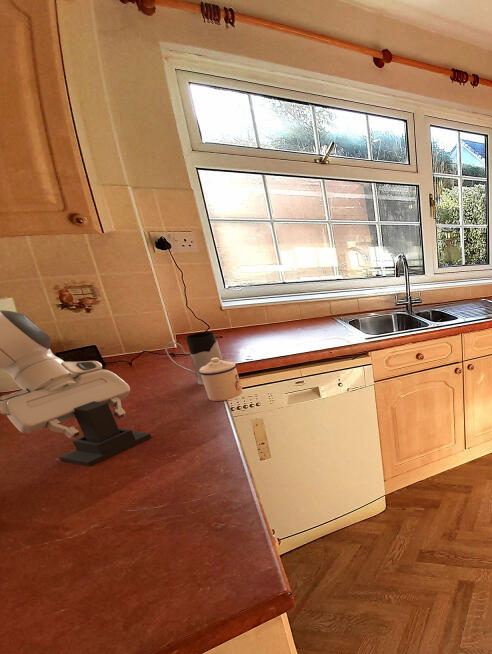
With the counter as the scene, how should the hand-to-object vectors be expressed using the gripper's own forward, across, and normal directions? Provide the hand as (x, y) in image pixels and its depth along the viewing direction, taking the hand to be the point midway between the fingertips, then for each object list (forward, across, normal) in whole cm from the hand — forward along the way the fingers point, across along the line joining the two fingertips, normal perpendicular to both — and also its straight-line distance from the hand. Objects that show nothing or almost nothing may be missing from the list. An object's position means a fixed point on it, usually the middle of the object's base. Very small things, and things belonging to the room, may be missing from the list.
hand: (99, 425), depth 95 cm
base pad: (+4, 0, +5) cm, 6 cm away
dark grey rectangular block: (+3, 0, +4) cm, 5 cm away
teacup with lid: (+3, +32, +5) cm, 32 cm away
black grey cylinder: (-8, +39, +17) cm, 43 cm away
